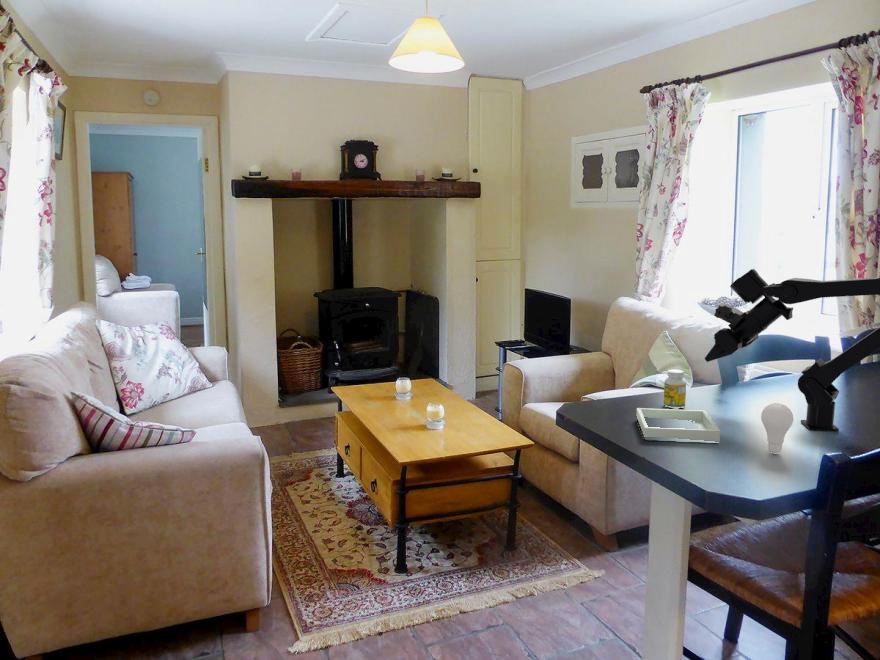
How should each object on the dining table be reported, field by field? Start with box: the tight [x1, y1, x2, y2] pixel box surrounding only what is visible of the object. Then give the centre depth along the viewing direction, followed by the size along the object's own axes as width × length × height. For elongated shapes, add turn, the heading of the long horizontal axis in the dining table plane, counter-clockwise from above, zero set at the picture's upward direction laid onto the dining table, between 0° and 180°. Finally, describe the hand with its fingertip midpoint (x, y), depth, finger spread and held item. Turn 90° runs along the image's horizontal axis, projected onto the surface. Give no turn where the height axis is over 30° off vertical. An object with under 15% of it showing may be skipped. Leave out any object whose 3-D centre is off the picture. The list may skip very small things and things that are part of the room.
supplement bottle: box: [663, 369, 687, 408], centre depth 185 cm, size 5×5×10 cm
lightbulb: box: [760, 402, 794, 454], centre depth 149 cm, size 6×6×11 cm
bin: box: [636, 407, 721, 443], centre depth 165 cm, size 16×16×3 cm
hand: (711, 357), depth 182 cm, fingers open, 9 cm apart
